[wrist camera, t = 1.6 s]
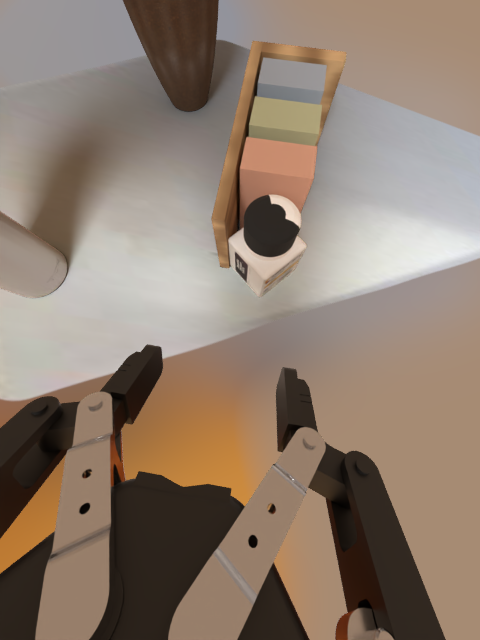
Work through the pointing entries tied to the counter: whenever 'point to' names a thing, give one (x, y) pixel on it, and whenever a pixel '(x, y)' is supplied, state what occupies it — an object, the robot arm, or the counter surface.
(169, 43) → the plant pot
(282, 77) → the book
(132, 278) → the counter surface
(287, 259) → the container
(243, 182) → the book
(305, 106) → the book
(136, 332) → the counter surface
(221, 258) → the wooden book rack
